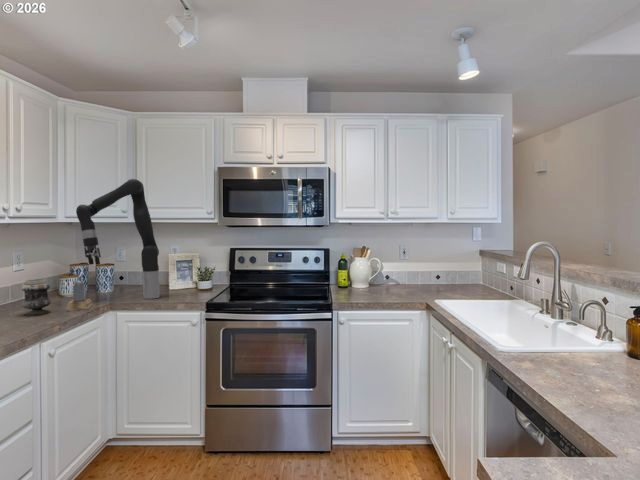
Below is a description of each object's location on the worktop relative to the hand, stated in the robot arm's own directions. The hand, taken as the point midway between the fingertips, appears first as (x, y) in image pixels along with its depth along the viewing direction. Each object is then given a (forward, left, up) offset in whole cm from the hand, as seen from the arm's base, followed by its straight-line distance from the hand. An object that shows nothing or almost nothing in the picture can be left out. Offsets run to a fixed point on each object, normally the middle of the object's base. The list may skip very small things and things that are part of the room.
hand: (94, 264), depth 217 cm
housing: (+6, +14, -19) cm, 24 cm away
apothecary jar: (+24, +19, -23) cm, 38 cm away
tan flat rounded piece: (+6, +14, -23) cm, 28 cm away
